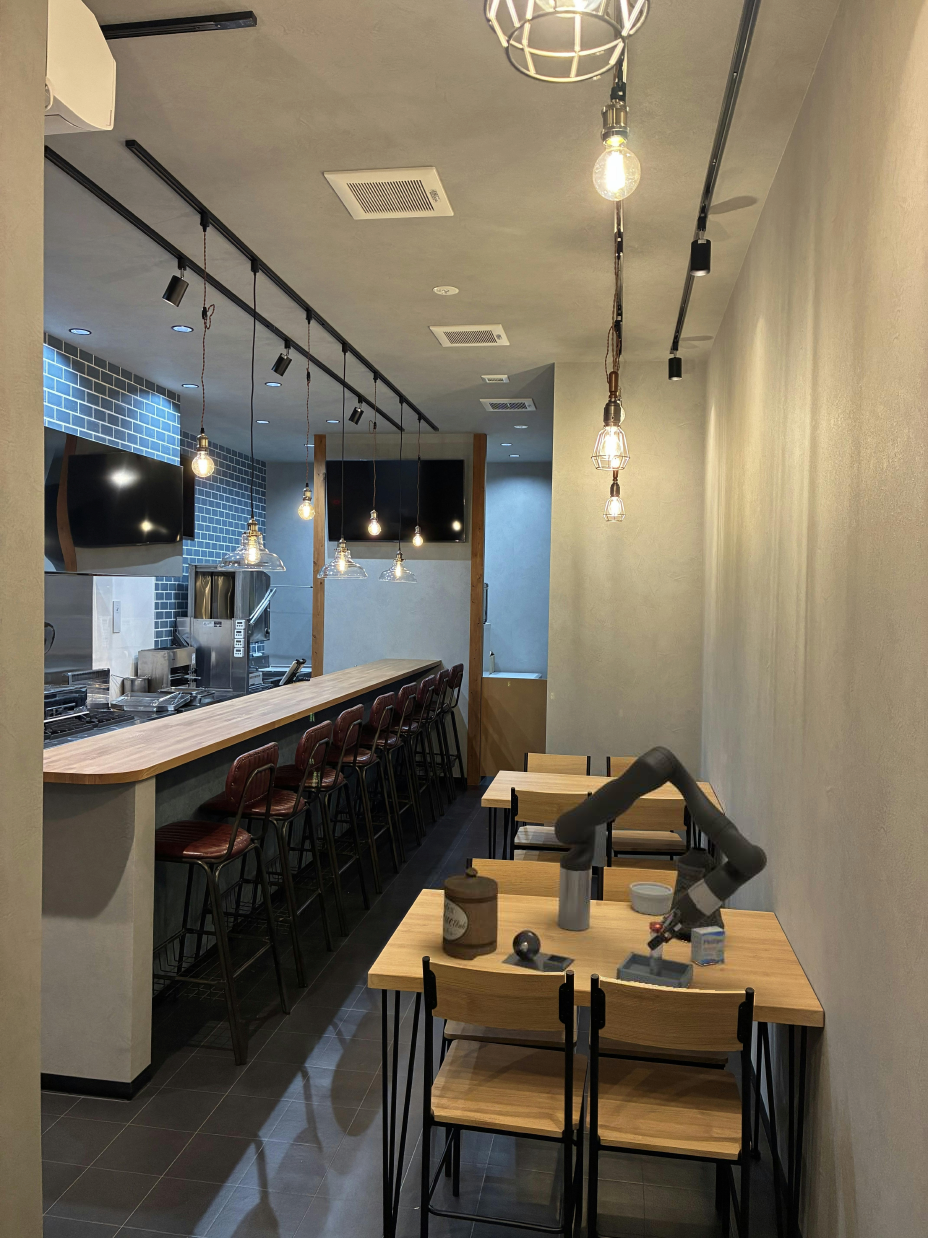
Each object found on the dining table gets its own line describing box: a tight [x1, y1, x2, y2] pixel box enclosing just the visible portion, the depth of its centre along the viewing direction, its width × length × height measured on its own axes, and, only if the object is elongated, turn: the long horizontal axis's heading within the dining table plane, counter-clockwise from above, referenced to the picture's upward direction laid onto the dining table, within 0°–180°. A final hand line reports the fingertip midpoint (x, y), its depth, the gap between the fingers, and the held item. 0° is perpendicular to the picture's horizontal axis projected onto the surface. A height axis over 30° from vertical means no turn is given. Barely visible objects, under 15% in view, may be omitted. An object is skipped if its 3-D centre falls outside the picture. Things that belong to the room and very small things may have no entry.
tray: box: [616, 951, 694, 989], centre depth 218 cm, size 13×16×4 cm
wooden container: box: [442, 866, 499, 961], centre depth 235 cm, size 15×15×22 cm
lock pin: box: [648, 921, 664, 977], centre depth 218 cm, size 4×4×13 cm
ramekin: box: [629, 881, 674, 916], centre depth 273 cm, size 13×13×7 cm
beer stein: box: [668, 846, 725, 943], centre depth 252 cm, size 16×19×25 cm
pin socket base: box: [501, 929, 576, 973], centre depth 226 cm, size 12×16×8 cm
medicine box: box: [690, 926, 726, 966], centre depth 232 cm, size 8×4×9 cm, turn 114°
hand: (650, 941), depth 219 cm, fingers open, 8 cm apart
